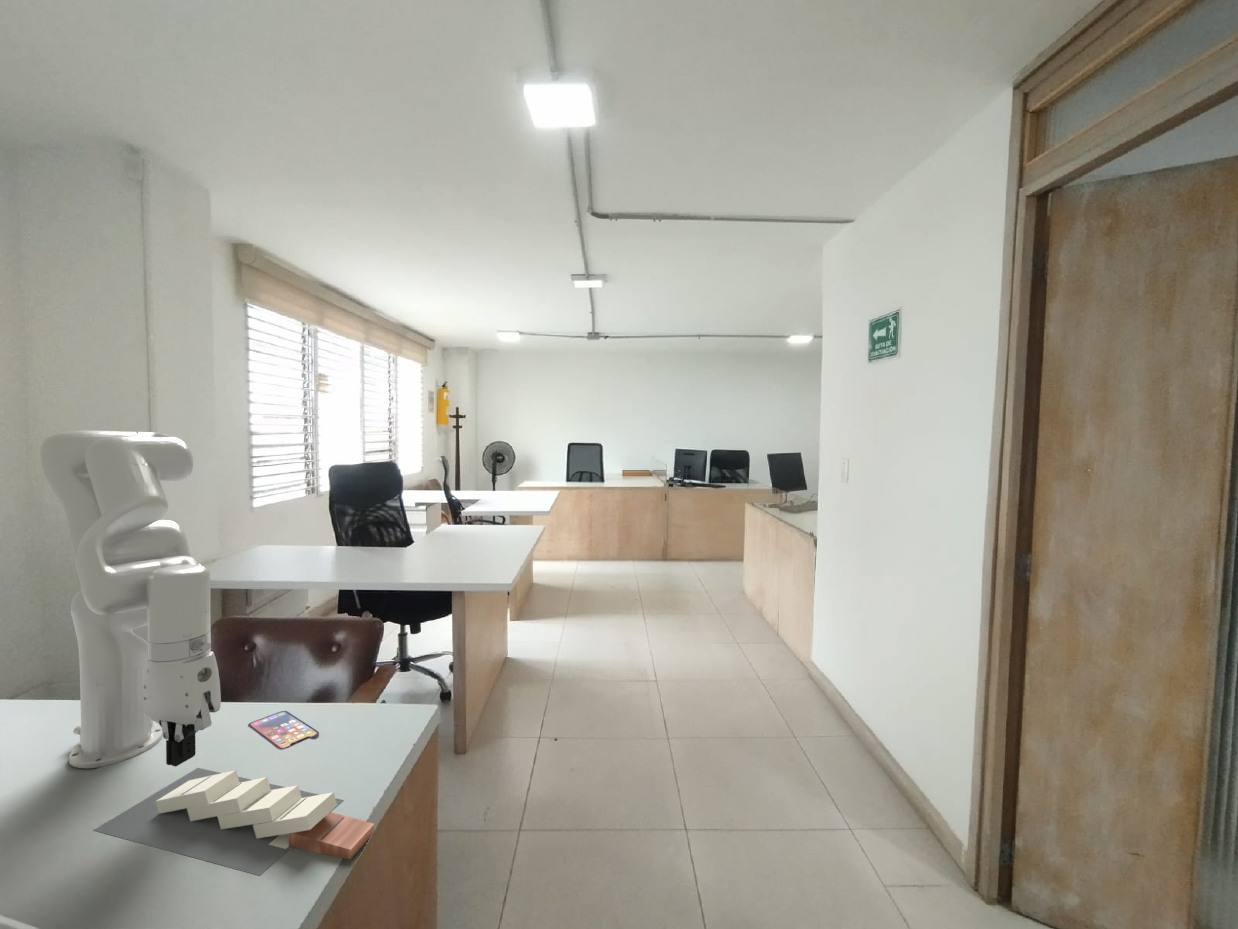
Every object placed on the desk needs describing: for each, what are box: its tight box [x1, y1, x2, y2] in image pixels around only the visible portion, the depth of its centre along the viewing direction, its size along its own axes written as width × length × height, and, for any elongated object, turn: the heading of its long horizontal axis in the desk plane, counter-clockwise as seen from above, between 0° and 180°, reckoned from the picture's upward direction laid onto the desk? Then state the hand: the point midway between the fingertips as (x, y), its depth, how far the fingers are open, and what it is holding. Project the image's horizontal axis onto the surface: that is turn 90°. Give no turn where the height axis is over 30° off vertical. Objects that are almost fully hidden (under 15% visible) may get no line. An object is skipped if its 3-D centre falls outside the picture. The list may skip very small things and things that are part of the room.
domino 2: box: [187, 776, 270, 821], centre depth 79 cm, size 2×5×10 cm
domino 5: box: [289, 811, 375, 860], centre depth 75 cm, size 2×5×10 cm
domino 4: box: [253, 792, 338, 838], centre depth 76 cm, size 2×5×10 cm
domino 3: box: [217, 785, 302, 829], centre depth 78 cm, size 2×5×10 cm
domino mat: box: [92, 767, 345, 876], centre depth 80 cm, size 30×15×1 cm, turn 77°
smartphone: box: [247, 710, 320, 750], centre depth 103 cm, size 1×7×15 cm
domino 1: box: [156, 769, 239, 814], centre depth 81 cm, size 2×5×10 cm
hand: (181, 760), depth 81 cm, fingers closed
